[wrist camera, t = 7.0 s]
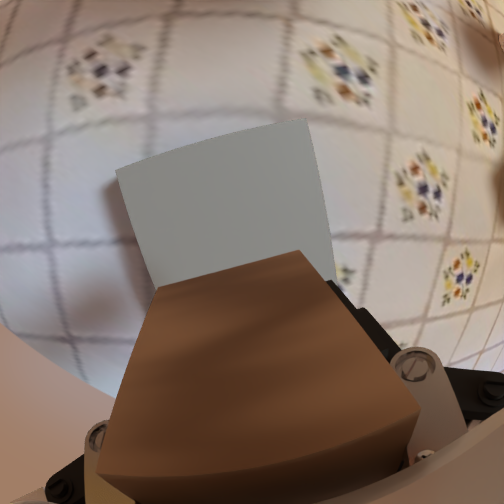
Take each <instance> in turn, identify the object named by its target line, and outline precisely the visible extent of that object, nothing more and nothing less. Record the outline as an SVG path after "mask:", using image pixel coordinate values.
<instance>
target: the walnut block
mask: <svg viewBox="0 0 504 504" xmlns="http://www.w3.org/2000/svg"><path fill="white" fill-rule="evenodd" d="M420 411H421V407H420V405H419V404H418V403H417V401H416V400H415V398H414V397H413V396H412V394H411V393H410V391H409V390H408V389H407V387H406V386H405V384H404V383H403V382H402V380H401V379H400V378H399V376H398V375H397V374H396V372H395V371H394V369H393V368H392V367H391V365H390V364H389V363H388V361H387V360H386V359H385V357H384V356H383V355H382V353H381V352H380V351H379V349H378V348H377V347H376V345H375V344H374V343H373V341H372V340H371V339H370V337H369V336H368V335H367V334H366V332H365V331H364V330H363V328H362V327H361V326H360V324H359V323H358V322H357V321H356V319H355V318H354V317H353V315H352V314H351V313H350V312H349V310H348V309H347V308H346V307H345V305H344V304H343V303H342V302H341V300H340V299H339V298H338V296H337V295H336V294H335V293H334V291H333V290H332V289H331V288H330V286H329V285H328V284H327V283H326V282H325V280H324V279H323V278H322V277H321V275H320V274H319V273H318V272H317V270H316V269H315V268H314V267H313V266H312V264H311V263H310V262H309V261H308V259H307V258H306V257H305V256H304V255H303V253H302V252H301V251H300V250H295V251H292V252H288V253H284V254H281V255H277V256H273V257H269V258H266V259H262V260H258V261H255V262H251V263H247V264H244V265H240V266H236V267H232V268H229V269H225V270H221V271H217V272H214V273H210V274H206V275H202V276H199V277H195V278H191V279H187V280H183V281H180V282H176V283H172V284H168V285H164V286H160V287H158V288H157V291H156V293H155V295H154V298H153V300H152V303H151V305H150V307H149V310H148V312H147V315H146V317H145V320H144V322H143V325H142V328H141V330H140V333H139V335H138V338H137V341H136V343H135V346H134V349H133V351H132V354H131V357H130V360H129V362H128V365H127V368H126V371H125V374H124V377H123V379H122V382H121V385H120V388H119V391H118V394H117V397H116V401H115V404H114V407H113V410H112V413H111V417H110V420H109V423H108V427H107V430H106V433H105V437H104V440H103V444H102V448H101V451H100V455H99V459H98V463H97V467H96V471H95V473H96V474H97V475H98V476H100V477H101V478H102V479H104V480H105V481H106V482H108V483H109V484H110V485H112V486H113V487H115V488H116V489H117V490H119V491H120V492H122V493H123V494H125V495H126V496H128V497H129V498H131V499H135V500H136V501H138V502H140V503H141V504H314V503H318V502H321V501H325V500H328V499H331V498H335V497H338V496H341V495H344V494H347V493H349V492H352V491H355V490H358V489H360V488H363V487H365V486H368V485H370V484H373V483H375V482H378V481H380V480H382V479H385V478H387V477H389V476H391V475H393V474H395V473H396V472H397V470H398V468H399V466H400V463H401V461H402V454H403V451H404V449H405V446H406V444H408V443H409V442H410V439H411V437H412V434H413V431H414V429H415V426H416V423H417V420H418V417H419V414H420Z"/></svg>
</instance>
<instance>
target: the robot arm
mask: <svg viewBox="0 0 504 504" xmlns="http://www.w3.org/2000/svg"><path fill="white" fill-rule="evenodd" d="M325 282H326V283H327V284H328V285H329V286H330V288H331V289H332V290H333V291H334V293H335V294H336V295H337V296H338V298H339V299H340V300H341V302H342V303H343V304H344V305H345V307H346V308H347V309H348V310H349V312H350V313H351V314H352V315H353V317H354V318H355V319H356V321H357V322H358V323H359V324H360V326H361V327H362V328H363V330H364V331H365V332H366V334H367V335H368V336H369V337H370V339H371V340H372V341H373V343H374V344H375V345H376V347H377V348H378V349H379V351H380V352H381V353H382V355H383V356H384V357H385V359H386V360H387V361H388V363H389V364H390V365H391V367H392V368H393V369H394V371H395V372H396V374H397V375H398V376H399V378H400V379H401V380H402V382H403V383H404V384H405V386H406V387H407V389H408V390H409V391H410V393H411V394H412V396H413V397H414V398H415V400H416V401H417V403H418V404H419V405H420V407H421V411H420V414H419V417H418V420H417V423H416V426H415V429H414V431H413V434H412V437H411V439H410V442H409V443H408V444H406V446H405V449H404V451H403V454H402V461H401V463H400V466H399V468H398V470H397V472H396V473H395V474H393V475H391V476H389V477H387V478H385V479H382V480H380V481H378V482H375V483H373V484H370V485H368V486H365V487H363V488H360V489H358V490H355V491H352V492H349V493H347V494H344V495H341V496H338V497H335V498H331V499H328V500H325V501H321V502H318V503H314V504H504V374H502V373H499V372H492V371H479V370H468V369H458V368H449V367H443V365H442V363H441V361H440V359H439V357H438V356H437V354H435V353H434V352H433V351H431V350H429V349H426V348H423V347H410V348H407V349H404V350H401V349H400V348H399V346H398V345H397V344H396V343H395V342H394V341H393V339H392V338H391V337H390V336H389V335H388V333H387V332H386V331H385V330H384V329H383V328H382V327H381V325H380V324H379V323H378V322H377V321H376V320H375V318H374V317H373V316H372V315H371V314H370V313H369V312H368V310H367V309H365V308H363V307H362V308H360V309H356V308H355V307H354V305H353V304H352V303H351V302H350V301H349V299H348V298H347V297H346V296H345V295H344V293H343V292H342V291H341V290H340V289H339V288H338V286H337V285H336V284H335V283H334V282H333V281H332V280H328V281H325ZM108 423H109V420H104V421H102V422H99V423H97V424H96V425H94V426H93V427H92V428H91V429H90V430H89V431H88V433H87V435H86V438H85V447H84V454H83V455H82V456H80V457H79V458H77V459H76V460H75V461H73V462H72V463H70V464H69V465H67V466H66V467H64V468H63V469H61V470H60V471H59V472H57V473H56V474H54V475H53V476H52V477H51V478H50V479H49V480H48V482H47V483H46V487H45V488H44V487H41V488H39V489H37V490H35V491H34V492H31V493H29V494H27V495H25V496H23V497H20V498H18V499H16V500H14V501H12V502H10V503H9V504H141V503H140V502H138V501H136V500H135V499H131V498H129V497H128V496H126V495H125V494H123V493H122V492H120V491H119V490H117V489H116V488H115V487H113V486H112V485H110V484H109V483H108V482H106V481H105V480H104V479H102V478H101V477H100V476H98V475H97V474H96V473H95V471H96V467H97V463H98V459H99V455H100V451H101V448H102V444H103V440H104V437H105V433H106V430H107V427H108Z"/></svg>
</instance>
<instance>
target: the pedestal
mask: <svg viewBox="0 0 504 504" xmlns="http://www.w3.org/2000/svg"><path fill="white" fill-rule="evenodd" d="M115 171H116V175H117V179H118V182H119V186H120V189H121V192H122V196H123V199H124V202H125V206H126V209H127V212H128V215H129V218H130V221H131V224H132V227H133V230H134V233H135V236H136V239H137V242H138V245H139V247H140V250H141V253H142V256H143V258H144V261H145V264H146V266H147V269H148V272H149V274H150V277H151V279H152V282H153V284H154V287H155V289H156V291H157V288H158V287H160V286H164V285H168V284H172V283H176V282H180V281H183V280H187V279H191V278H195V277H199V276H202V275H206V274H210V273H214V272H217V271H221V270H225V269H229V268H232V267H236V266H240V265H244V264H247V263H251V262H255V261H258V260H262V259H266V258H269V257H273V256H277V255H281V254H284V253H288V252H292V251H295V250H300V251H301V252H302V253H303V255H304V256H305V257H306V258H307V259H308V261H309V262H310V263H311V264H312V266H313V267H314V268H315V269H316V270H317V272H318V273H319V274H320V275H321V277H322V278H323V279H324V280H325V281H328V280H332V281H333V282H334V283H335V284H336V285H337V286H338V284H337V276H336V269H335V262H334V255H333V248H332V242H331V235H330V229H329V223H328V218H327V212H326V206H325V201H324V196H323V191H322V186H321V181H320V176H319V171H318V166H317V162H316V157H315V153H314V148H313V144H312V140H311V136H310V132H309V127H308V123H307V120H306V118H303V119H297V120H292V121H286V122H281V123H276V124H271V125H266V126H261V127H256V128H252V129H247V130H243V131H239V132H235V133H231V134H227V135H223V136H219V137H215V138H211V139H208V140H204V141H201V142H197V143H194V144H190V145H187V146H184V147H180V148H177V149H174V150H171V151H168V152H165V153H162V154H159V155H156V156H153V157H150V158H147V159H144V160H141V161H139V162H136V163H133V164H130V165H128V166H125V167H123V168H120V169H117V170H115Z"/></svg>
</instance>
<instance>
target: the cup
mask: <svg viewBox="0 0 504 504" xmlns="http://www.w3.org/2000/svg"><path fill="white" fill-rule="evenodd" d="M499 42H500V45H501V47H502V50H503V52H504V33H503V34H501V35H499Z"/></svg>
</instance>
